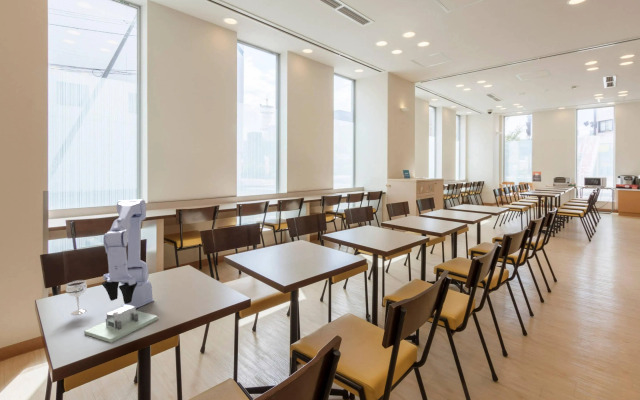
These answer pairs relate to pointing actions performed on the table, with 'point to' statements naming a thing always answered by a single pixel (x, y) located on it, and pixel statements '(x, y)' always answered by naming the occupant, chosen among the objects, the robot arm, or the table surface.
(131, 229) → the robot arm
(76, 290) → the wineglass
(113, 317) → the drive
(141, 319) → the pale green peg board
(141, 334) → the table surface
